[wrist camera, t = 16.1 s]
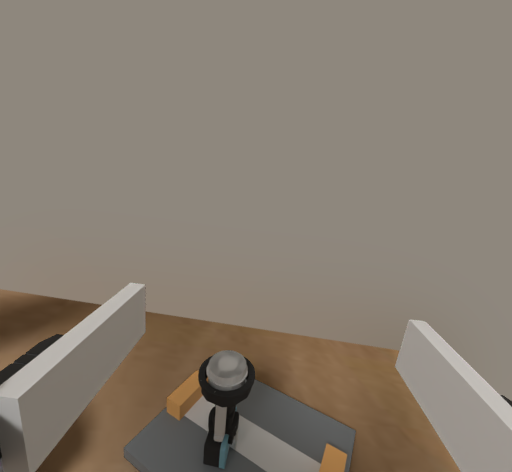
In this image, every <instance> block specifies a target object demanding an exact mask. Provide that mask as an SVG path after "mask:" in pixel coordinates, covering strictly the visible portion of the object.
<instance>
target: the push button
mask: <svg viewBox="0 0 512 472" xmlns="http://www.w3.org/2000/svg"><path fill="white" fill-rule="evenodd" d="M207 378H208V382H207V380H206V379H207ZM245 378H246V380H247V381H246V383H245ZM198 380H199V384H200V387H201V393H202V395H203V396H204V398H205V399H206V401H208V402H211V403H213V404H215V407H213V408H212V409H211V411H210V413H209V418H208V429H209V430H208V433H207V434H208V435H207V438H206V441H205V444H204V457H203V464H205V465H209V466H213V467H218V468H222V469H225V465H226V459H227V455H228V451H229V447H230V444H231V445H232V443H233V440H235V449H236V444H237V439H238V425H239V412H237V407H236V405H237V404H238V403H240V402H241V401H243V400H245V399H246V398H247V397H248V395H249V393H250V391H251V388H252V386H253V384H254V380H255V370H254V367H253V365H252V364H251V362H250V361H249V360H248V359H246V358H245V357H243V356H242V355H241V354H239V353H237V352H235V351H230V350H227V351H220V352H218V353H216V354H214V355H213V356H211V357H209V358H208V359H206V360H205V361H204V362H203V364H202V365H201V367H200V369H199V373H198Z"/></svg>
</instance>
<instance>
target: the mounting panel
mask: <svg viewBox="0 0 512 472" xmlns="http://www.w3.org/2000/svg"><path fill="white" fill-rule="evenodd" d="M198 373H199V371H197V370H196V371H195V372H194V373H193V374H192V375H191V376H190V377H189V378H188V379H187V380H185V381H184V382H183V383H182V384H181V385H180V386H179V387H178V388H177V389H176V390H175V391H174V392H172V393H171V394H170V395H169V396H168V397H167V407H166V408H165V409H164V410H163V411H162V412H161V413H159V414H158V415H157V416H156V417H155V418H154V419H153V420H152V421H151V422H150V423H149V424H148V425H147V426H146V427H145V428H144V429H143V430H142V431H141V432H140V433H139V434H138V435H137V436H135V437H134V438H133V439H132V440H131V441H130V442H129V443H128V444H127V445H126V446H125V447H124V457H125V458H126V459H127V460H128V461H129V462H130V463H131V464H132V465H133V466H135V467H136V468H137V469H138V470H139V471H140V472H349V469H350V463H351V457H352V451H353V445H354V438H355V432H356V431H355V430H353V429H352V428H350V427H348V426H346V425H344V424H342V423H340V422H338V421H336V420H334V419H332V418H330V417H328V416H326V415H324V414H322V413H320V412H318V411H316V410H314V409H312V408H310V407H309V406H307V405H305V404H303V403H301V402H299V401H297V400H295V399H293V398H291V397H289V396H287V395H285V394H283V393H281V392H279V391H277V390H275V389H273V388H271V387H269V386H268V385H266V384H264V383H262V382H260V381H258V380H256V379H255V380H254V384H253V386H252V388H251V391H250V393H249V395H248V397H247V398H246V399H245V400H243V401H241V402H240V403H238V404H237V405H236V407H237V412H239V425H238V439H237V444H236V449H235V440H233V443H232V445H231V444H230V447H229V451H228V455H227V459H226V465H225V469H222V468H218V467H213V466H209V465H205V464H203V457H204V444H205V441H206V438H207V435H208V434H207V433H208V430H209V429H208V418H209V413H210V411H211V409H212V408H213V407H215V404H213V403H211V402H208V401H206V399H205V398H204V396H203V395H202V393H201V387H200V384H199V380H198ZM206 380H207V382H208V378H207V379H206ZM246 381H247V380H246V378H245V383H246Z"/></svg>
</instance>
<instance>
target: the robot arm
mask: <svg viewBox="0 0 512 472" xmlns="http://www.w3.org/2000/svg"><path fill="white" fill-rule="evenodd" d="M144 333H145V285H144V284H137V283H130V284H129V285H127V286H126V287H125V288H123V289H122V290H121V291H119V292H118V293H117V294H116V295H114V296H113V297H112V298H111V299H109V300H108V301H107V302H106V303H104V304H103V305H102V306H100V307H99V308H98V309H97V310H95V311H94V312H93V313H91V314H90V315H89V316H88V317H86V318H85V319H84V320H83V321H81V322H80V323H79V324H78V325H76V326H75V327H74V328H72V329H71V330H70V331H69V332H67V333H66V334H65V335H59V334H56V335H54V336H52V337H50V338H48V339H46V340H44V341H42V342H40V343H38V344H37V345H36V346H34V347H33V348H32V349H30V350H29V351H28V352H26V354H25V355H22V356H21V357H19V358H18V359H17V360H15V361H14V363H13V364H10V365H9V366H7V367H6V368H4V369H3V370H2V371H0V459H1V461H2V466H3V471H4V472H35V471H36V470H37V469H38V468H39V466H40V465H41V464H42V462H43V461H44V460H45V459H46V457H47V456H48V455H49V454H50V452H51V451H52V450H53V449H54V447H55V446H56V445H57V443H58V442H59V441H60V440H61V438H62V437H63V436H64V435H65V433H66V432H67V431H68V430H69V428H70V427H71V426H72V424H73V423H74V422H75V421H76V419H77V418H78V417H79V416H80V414H81V413H82V412H83V411H84V409H85V408H86V407H87V405H88V404H89V403H90V402H91V400H92V399H93V398H94V397H95V395H96V394H97V393H98V392H99V390H100V389H101V388H102V386H103V385H104V384H105V383H106V381H107V380H108V379H109V378H110V376H111V375H112V374H113V373H114V371H115V370H116V369H117V367H118V366H119V365H120V364H121V362H122V361H123V360H124V359H125V357H126V356H127V355H128V354H129V352H130V351H131V350H132V348H133V347H134V346H135V345H136V343H137V342H138V341H139V340H140V338H141V337H142V336H143V334H144ZM395 367H396V369H397V370H398V372H399V373H400V375H401V377H402V378H403V380H404V381H405V383H406V385H407V386H408V388H409V389H410V391H411V393H412V394H413V396H414V397H415V399H416V401H417V402H418V404H419V405H420V407H421V409H422V410H423V412H424V413H425V415H426V417H427V418H428V420H429V421H430V423H431V425H432V426H433V428H434V429H435V431H436V432H437V434H438V436H439V437H440V439H441V440H442V442H443V444H444V445H445V447H446V448H447V450H448V452H449V453H450V455H451V456H452V458H453V460H454V461H455V463H456V464H457V466H458V468H459V469H460V471H461V472H512V401H510V400H509V399H507V398H506V397H505V396H503V395H499V394H498V393H497V392H496V391H495V390H494V389H493V388H492V387H491V386H490V385H489V384H488V383H487V382H486V381H485V380H484V379H483V378H482V377H481V376H480V375H479V374H478V373H477V372H476V371H475V370H474V369H473V368H471V366H470V365H469V364H468V363H467V362H466V361H465V360H464V359H463V358H462V357H461V356H460V355H459V354H458V353H457V352H456V351H454V350H453V349H452V347H451V346H450V345H449V344H447V342H446V341H444V340H443V339H442V338H441V337H440V336H439V335H438V334H437V333H436V332H435V331H434V330H433V329H432V328H431V327H430V326H429V325H428V324H427V323H426V322H425V321H418V320H410V319H409V322H408V325H407V328H406V332H405V335H404V338H403V342H402V345H401V348H400V352H399V355H398V358H397V362H396V365H395Z"/></svg>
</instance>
